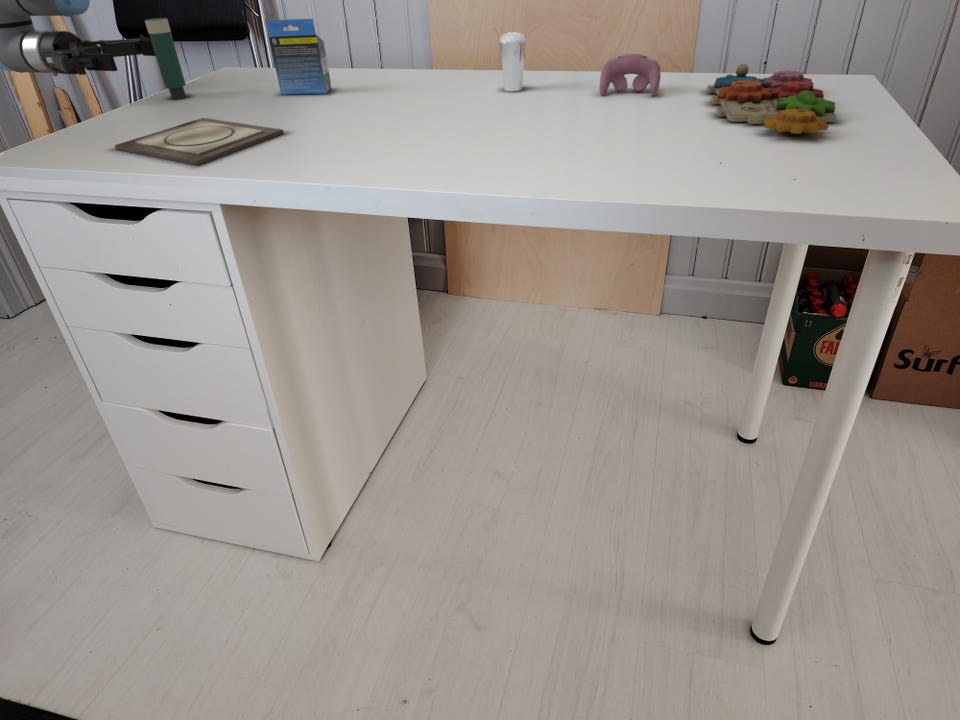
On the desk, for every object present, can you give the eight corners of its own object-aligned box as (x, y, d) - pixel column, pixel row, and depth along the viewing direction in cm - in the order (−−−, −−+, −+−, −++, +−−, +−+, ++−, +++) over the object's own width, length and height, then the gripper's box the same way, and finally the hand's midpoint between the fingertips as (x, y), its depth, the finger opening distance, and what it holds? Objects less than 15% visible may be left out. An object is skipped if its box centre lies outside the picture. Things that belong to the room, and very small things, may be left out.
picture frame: (115, 149, 94) (113, 143, 94) (203, 121, 106) (202, 115, 105) (197, 165, 87) (195, 159, 86) (283, 133, 98) (282, 127, 97)
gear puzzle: (857, 143, 83) (867, 110, 80) (725, 141, 86) (731, 109, 83) (805, 87, 108) (811, 60, 105) (704, 87, 110) (708, 61, 108)
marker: (164, 98, 120) (140, 20, 113) (180, 94, 123) (158, 17, 115) (177, 100, 119) (153, 21, 111) (193, 96, 121) (171, 18, 114)
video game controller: (657, 101, 110) (663, 58, 109) (658, 94, 105) (663, 49, 104) (599, 100, 112) (604, 57, 111) (597, 93, 108) (602, 49, 107)
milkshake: (492, 88, 116) (491, 26, 110) (520, 85, 117) (520, 24, 112) (500, 94, 112) (499, 30, 107) (529, 90, 114) (529, 27, 108)
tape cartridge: (332, 89, 121) (320, 15, 114) (326, 94, 118) (313, 18, 111) (287, 90, 122) (272, 16, 115) (279, 95, 119) (264, 20, 112)
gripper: (114, 60, 137) (194, 63, 130) (8, 87, 118) (95, 92, 111) (101, 21, 132) (183, 22, 126) (-12, 42, 113) (78, 44, 107)
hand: (142, 55), depth 119 cm, fingers open, 13 cm apart
